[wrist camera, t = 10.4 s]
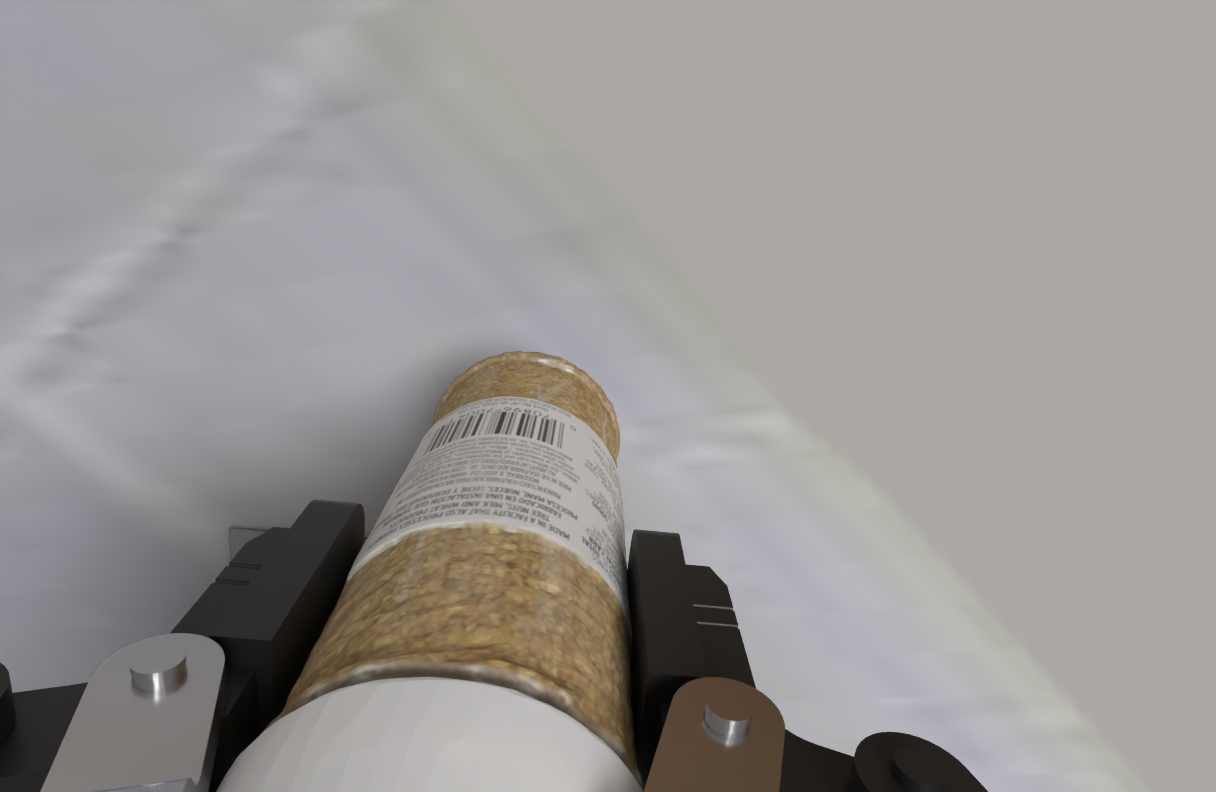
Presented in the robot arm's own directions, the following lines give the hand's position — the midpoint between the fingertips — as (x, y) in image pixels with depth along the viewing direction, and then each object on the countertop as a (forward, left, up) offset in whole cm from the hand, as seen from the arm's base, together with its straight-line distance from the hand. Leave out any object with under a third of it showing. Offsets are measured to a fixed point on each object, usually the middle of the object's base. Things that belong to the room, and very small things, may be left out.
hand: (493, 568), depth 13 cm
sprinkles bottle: (0, 0, -7) cm, 7 cm away
